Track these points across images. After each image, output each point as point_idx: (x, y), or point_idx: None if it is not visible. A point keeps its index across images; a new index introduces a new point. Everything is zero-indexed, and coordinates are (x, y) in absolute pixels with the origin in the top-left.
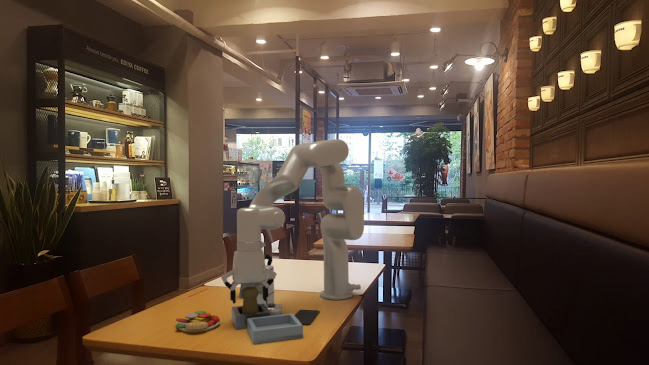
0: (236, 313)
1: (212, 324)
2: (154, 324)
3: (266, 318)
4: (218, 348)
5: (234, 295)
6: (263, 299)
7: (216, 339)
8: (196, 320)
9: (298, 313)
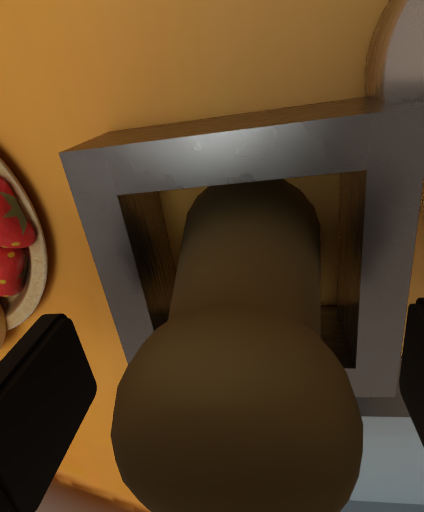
0: (137, 347)
1: (14, 292)
2: None
3: None
4: (119, 479)
5: (49, 465)
6: (403, 353)
7: (92, 413)
8: None
9: None
